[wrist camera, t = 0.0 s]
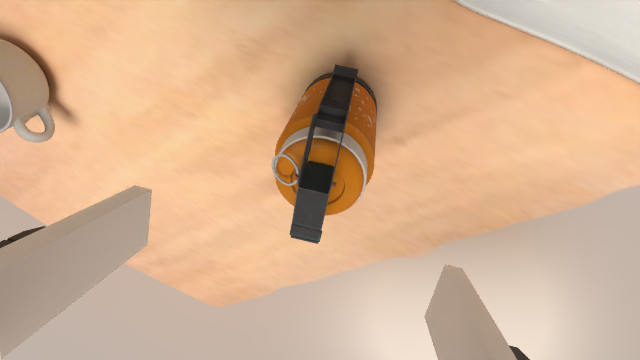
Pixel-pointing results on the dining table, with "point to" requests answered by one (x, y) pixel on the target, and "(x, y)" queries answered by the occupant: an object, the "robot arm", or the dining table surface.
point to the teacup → (23, 93)
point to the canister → (326, 150)
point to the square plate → (576, 27)
